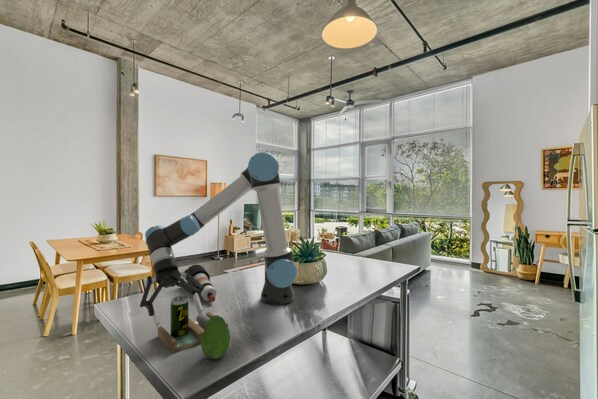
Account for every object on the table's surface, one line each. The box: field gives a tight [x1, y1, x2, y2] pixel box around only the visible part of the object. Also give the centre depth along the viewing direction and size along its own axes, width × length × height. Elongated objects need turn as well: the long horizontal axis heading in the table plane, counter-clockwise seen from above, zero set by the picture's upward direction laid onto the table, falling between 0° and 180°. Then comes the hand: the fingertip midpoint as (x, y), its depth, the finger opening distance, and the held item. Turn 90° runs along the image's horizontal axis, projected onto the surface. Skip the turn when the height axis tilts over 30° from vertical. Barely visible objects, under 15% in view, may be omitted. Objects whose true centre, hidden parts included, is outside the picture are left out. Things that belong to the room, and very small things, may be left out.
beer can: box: [170, 295, 190, 339], centre depth 89 cm, size 5×5×12 cm
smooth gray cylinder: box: [195, 313, 210, 327], centre depth 95 cm, size 9×3×3 cm, turn 44°
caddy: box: [157, 311, 229, 354], centre depth 92 cm, size 18×14×3 cm
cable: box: [186, 264, 217, 303], centre depth 133 cm, size 10×34×10 cm, turn 33°
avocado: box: [200, 314, 231, 360], centre depth 79 cm, size 8×8×12 cm
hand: (180, 317), depth 88 cm, fingers open, 13 cm apart
